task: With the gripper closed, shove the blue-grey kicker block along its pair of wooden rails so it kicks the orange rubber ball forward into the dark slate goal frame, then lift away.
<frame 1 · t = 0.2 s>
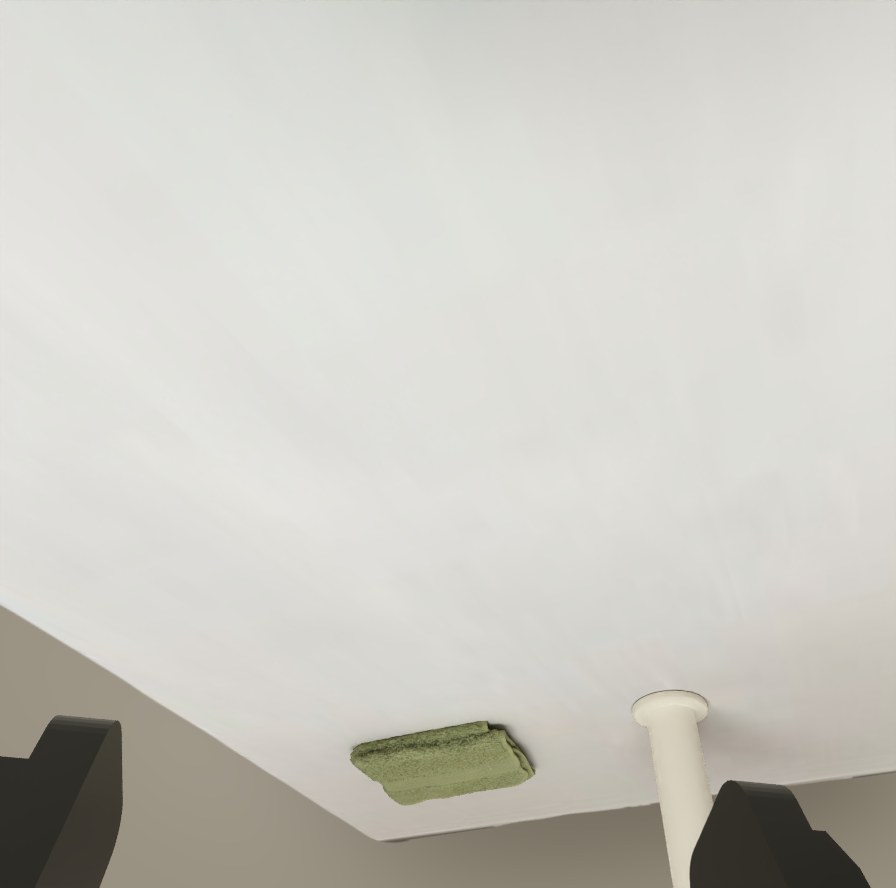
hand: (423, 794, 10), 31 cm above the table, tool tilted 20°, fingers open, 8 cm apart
candle: (668, 704, 76), on the table
washcloth: (444, 748, 85), on the table
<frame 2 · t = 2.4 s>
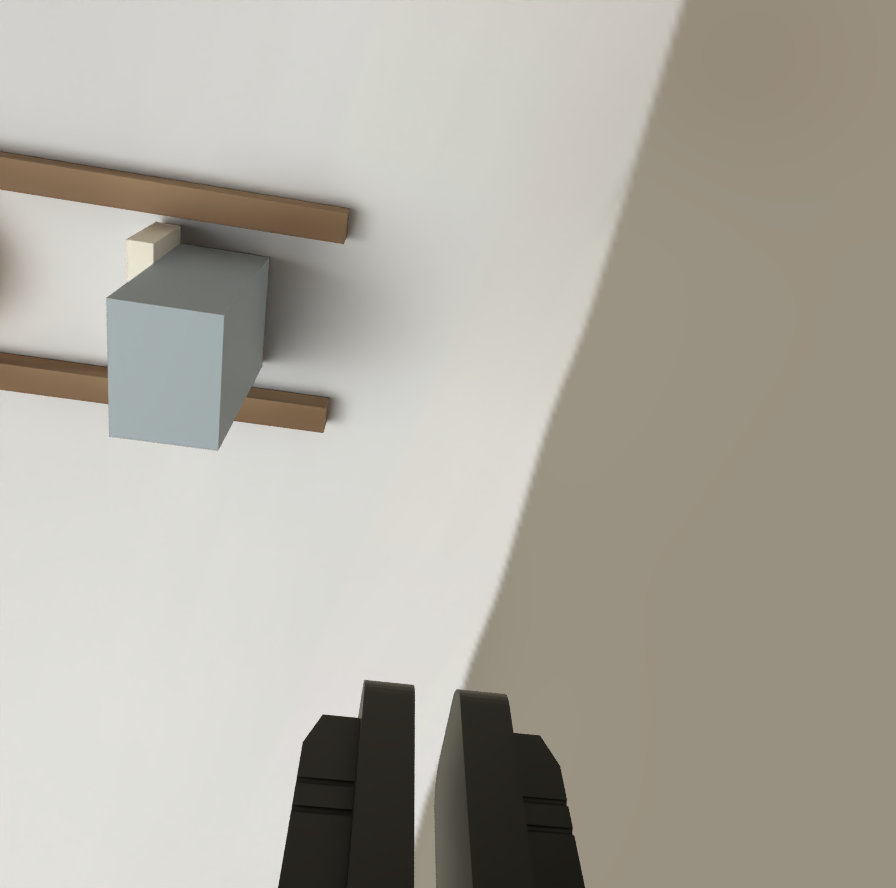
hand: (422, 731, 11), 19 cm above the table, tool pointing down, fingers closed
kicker: (184, 336, 24), point 4 cm above the table, slide at 0.0 cm
pair of wooden rails: (78, 283, 27), on the table
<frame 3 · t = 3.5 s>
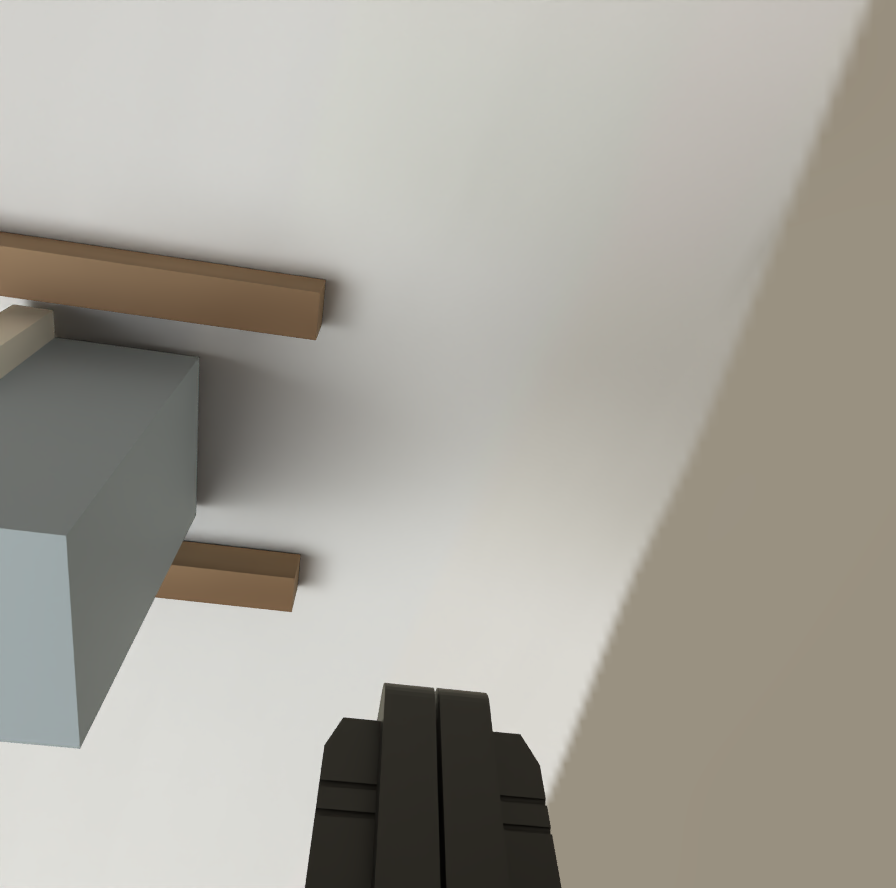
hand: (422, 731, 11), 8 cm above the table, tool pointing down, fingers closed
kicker: (43, 510, 14), point 4 cm above the table, slide at 0.0 cm
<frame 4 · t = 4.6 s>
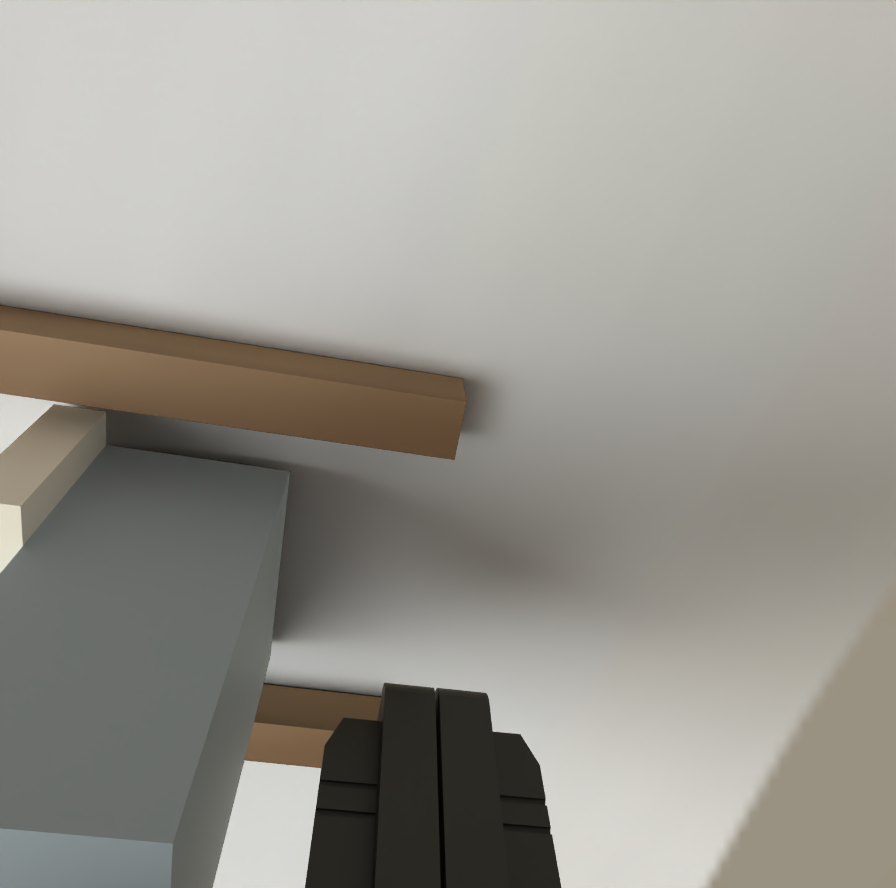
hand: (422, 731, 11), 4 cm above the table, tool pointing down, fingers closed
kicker: (97, 699, 11), point 4 cm above the table, slide at 0.1 cm, touching gripper
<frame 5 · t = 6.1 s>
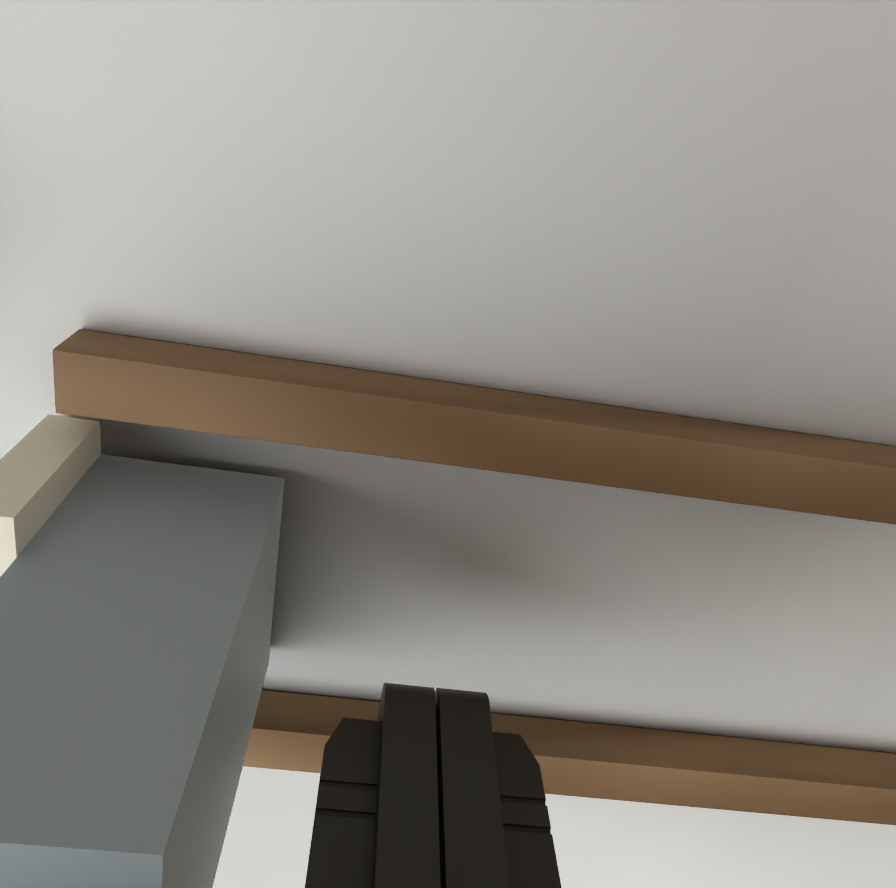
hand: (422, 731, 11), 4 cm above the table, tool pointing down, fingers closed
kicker: (93, 709, 11), point 4 cm above the table, slide at 12.1 cm, touching gripper
pair of wooden rails: (577, 600, 15), on the table
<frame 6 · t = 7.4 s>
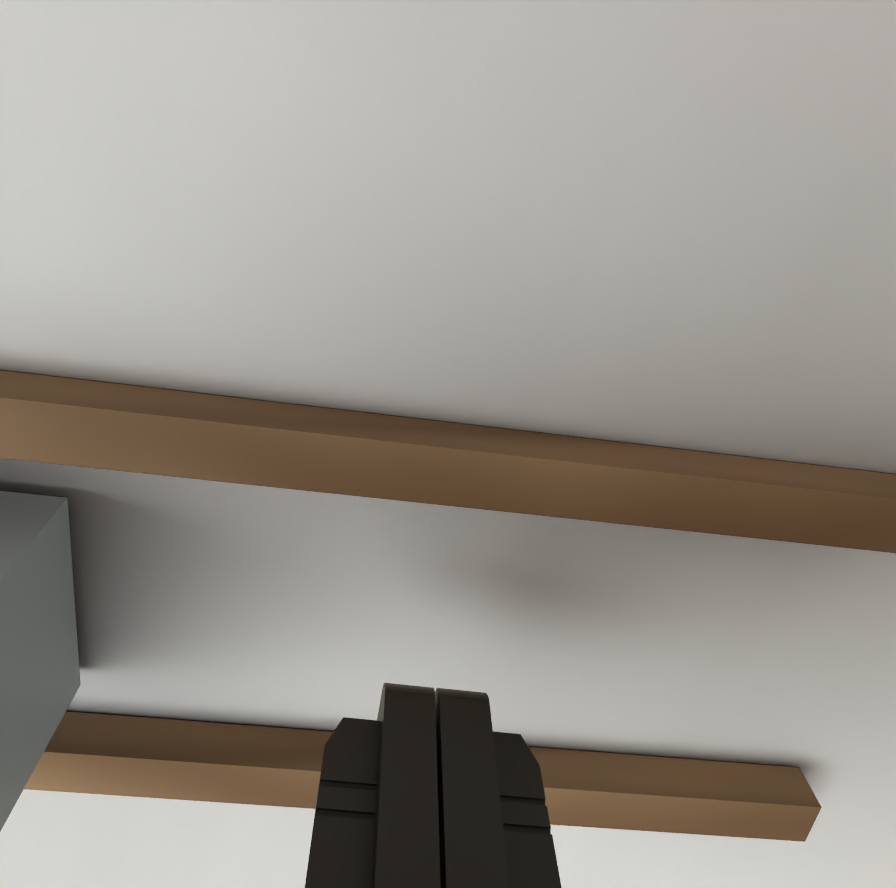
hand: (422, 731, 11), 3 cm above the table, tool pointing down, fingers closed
pair of wooden rails: (394, 615, 15), on the table
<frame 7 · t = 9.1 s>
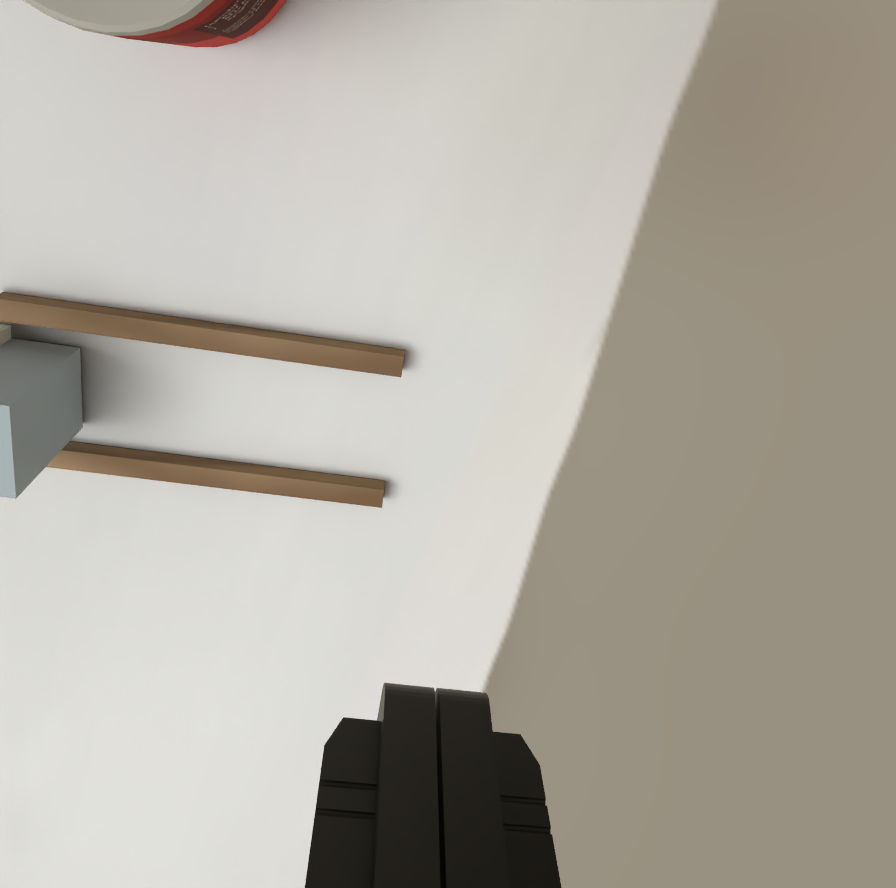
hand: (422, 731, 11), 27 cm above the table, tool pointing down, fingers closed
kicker: (3, 411, 33), point 4 cm above the table, slide at 12.1 cm
pair of wooden rails: (205, 402, 37), on the table
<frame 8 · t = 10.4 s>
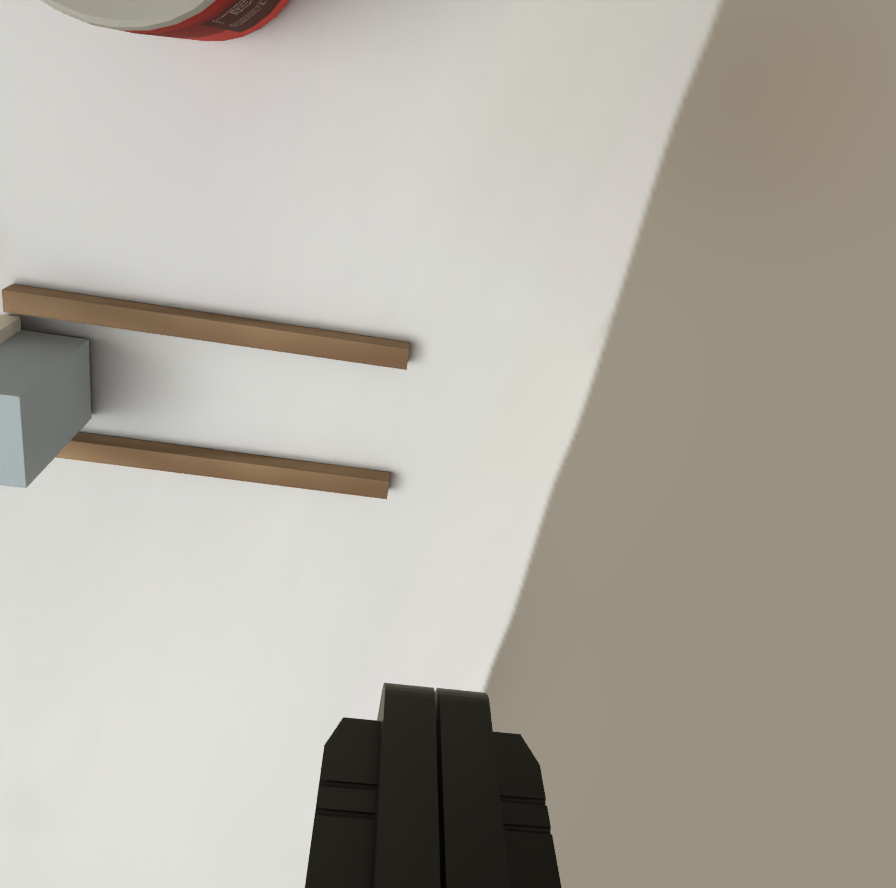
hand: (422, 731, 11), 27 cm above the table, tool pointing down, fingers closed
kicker: (13, 402, 34), point 4 cm above the table, slide at 12.1 cm
pair of wooden rails: (212, 393, 38), on the table
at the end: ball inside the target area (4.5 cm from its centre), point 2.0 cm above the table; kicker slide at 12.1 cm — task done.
